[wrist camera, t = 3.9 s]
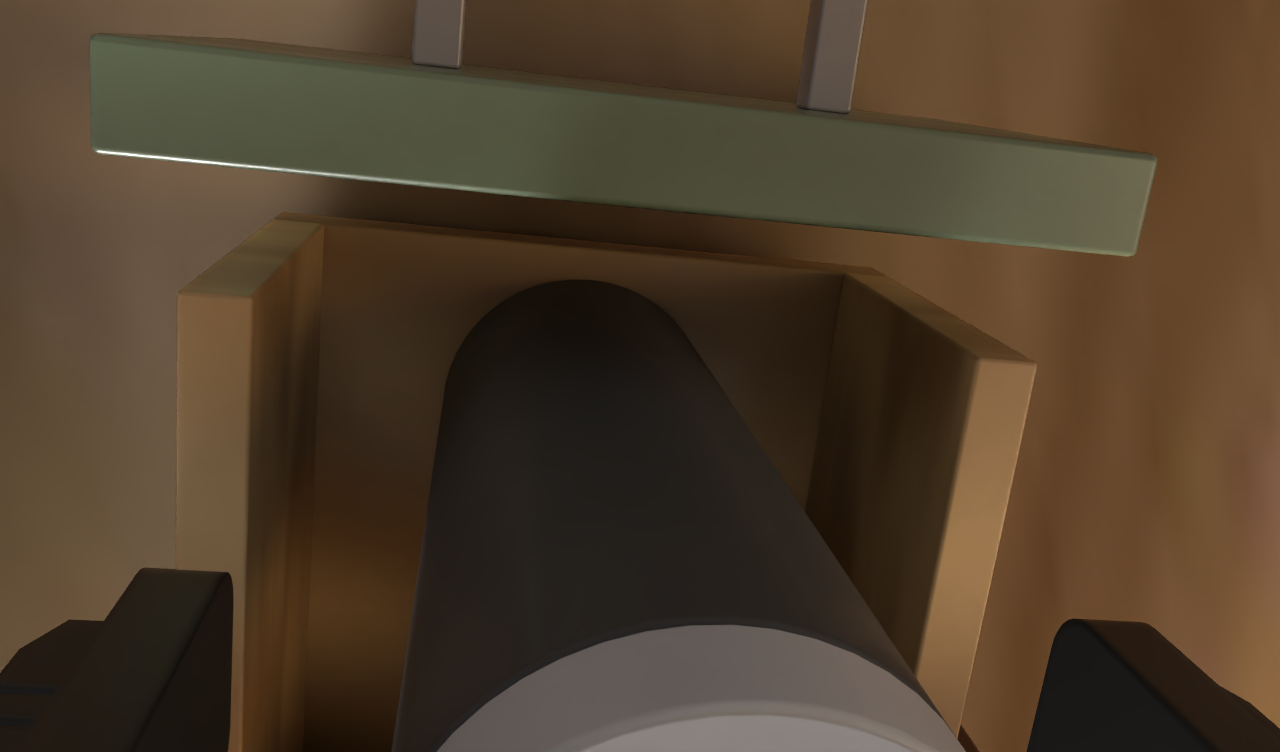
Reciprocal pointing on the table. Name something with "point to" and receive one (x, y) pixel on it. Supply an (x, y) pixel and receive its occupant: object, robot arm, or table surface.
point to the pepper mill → (629, 560)
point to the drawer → (510, 263)
